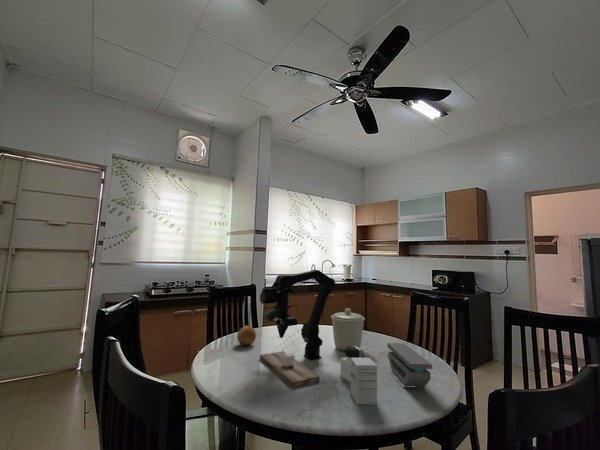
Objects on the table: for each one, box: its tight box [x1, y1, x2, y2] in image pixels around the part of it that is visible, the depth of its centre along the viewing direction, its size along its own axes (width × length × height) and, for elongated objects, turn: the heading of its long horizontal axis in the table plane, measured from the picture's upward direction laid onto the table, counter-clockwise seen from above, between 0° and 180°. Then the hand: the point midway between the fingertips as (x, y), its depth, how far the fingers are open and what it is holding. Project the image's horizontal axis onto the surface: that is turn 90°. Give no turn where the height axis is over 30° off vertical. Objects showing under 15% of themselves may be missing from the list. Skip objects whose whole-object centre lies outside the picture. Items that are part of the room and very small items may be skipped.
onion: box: [236, 325, 257, 347], centre depth 151 cm, size 10×10×10 cm
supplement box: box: [350, 357, 378, 405], centre depth 98 cm, size 7×7×13 cm
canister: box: [330, 307, 366, 352], centre depth 152 cm, size 18×18×21 cm
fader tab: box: [282, 352, 295, 367], centre depth 120 cm, size 4×3×4 cm
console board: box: [259, 350, 321, 389], centre depth 120 cm, size 12×32×2 cm, turn 30°
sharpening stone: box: [386, 342, 433, 388], centre depth 114 cm, size 25×8×11 cm, turn 1°
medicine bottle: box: [340, 346, 361, 383], centre depth 114 cm, size 7×7×12 cm
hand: (281, 337), depth 129 cm, fingers closed
